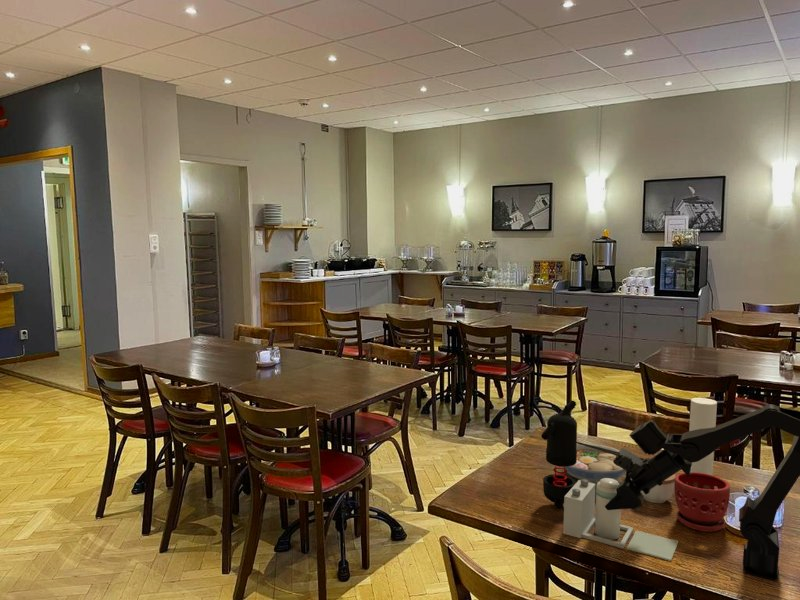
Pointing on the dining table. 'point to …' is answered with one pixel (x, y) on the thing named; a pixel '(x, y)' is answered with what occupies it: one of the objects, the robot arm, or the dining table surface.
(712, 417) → the cylindrical container
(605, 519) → the cartridge
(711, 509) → the plant pot
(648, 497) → the lidded jar
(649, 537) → the mat
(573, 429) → the black spring figurine
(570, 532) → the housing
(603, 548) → the dining table surface
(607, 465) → the ramen bowl
